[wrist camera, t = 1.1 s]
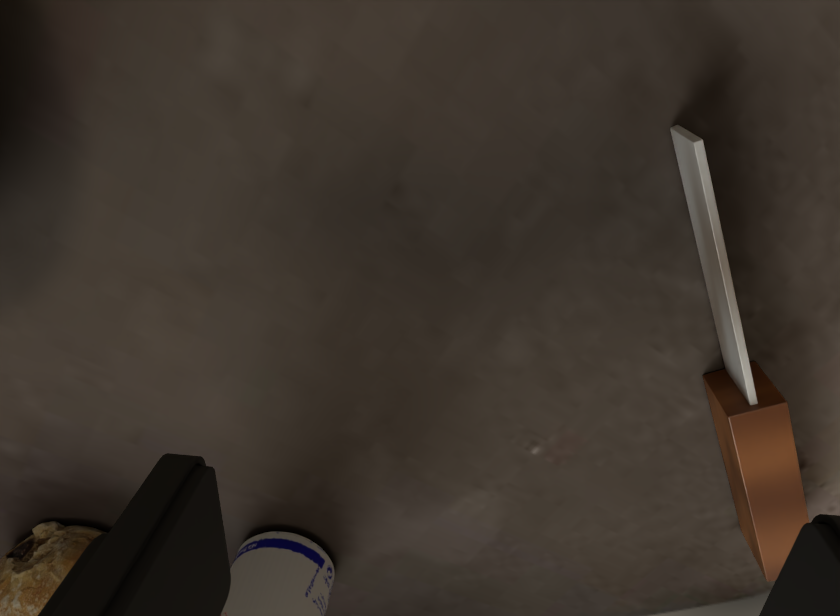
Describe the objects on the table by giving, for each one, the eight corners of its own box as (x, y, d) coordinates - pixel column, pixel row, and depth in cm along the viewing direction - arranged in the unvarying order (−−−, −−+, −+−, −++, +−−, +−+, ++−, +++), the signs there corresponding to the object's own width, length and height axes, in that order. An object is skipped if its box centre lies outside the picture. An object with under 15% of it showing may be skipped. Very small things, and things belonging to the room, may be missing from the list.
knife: (787, 521, 29) (818, 572, 27) (741, 530, 30) (767, 582, 27) (705, 113, 21) (737, 129, 18) (642, 136, 22) (666, 155, 19)
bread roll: (141, 468, 36) (14, 527, 29) (221, 619, 35) (111, 721, 28) (47, 530, 40) (-89, 597, 32) (119, 669, 39) (-5, 772, 31)
